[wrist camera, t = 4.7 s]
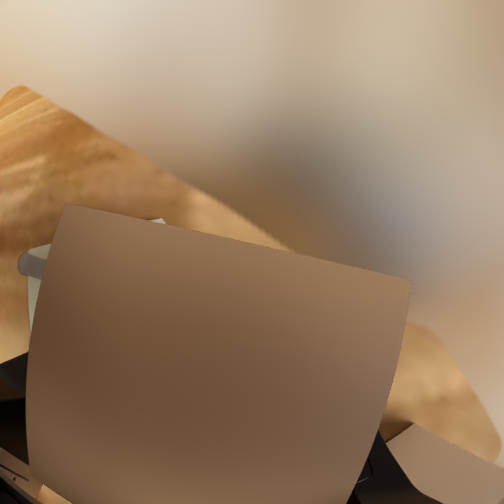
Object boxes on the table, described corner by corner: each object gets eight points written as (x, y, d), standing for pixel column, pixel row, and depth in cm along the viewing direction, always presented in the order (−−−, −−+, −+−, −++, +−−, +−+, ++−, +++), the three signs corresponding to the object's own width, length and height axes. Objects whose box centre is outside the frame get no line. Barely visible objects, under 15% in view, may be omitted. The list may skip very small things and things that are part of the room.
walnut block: (273, 406, 15) (307, 566, 3) (174, 381, 15) (30, 474, 3) (297, 309, 16) (411, 280, 4) (196, 285, 16) (65, 202, 4)
